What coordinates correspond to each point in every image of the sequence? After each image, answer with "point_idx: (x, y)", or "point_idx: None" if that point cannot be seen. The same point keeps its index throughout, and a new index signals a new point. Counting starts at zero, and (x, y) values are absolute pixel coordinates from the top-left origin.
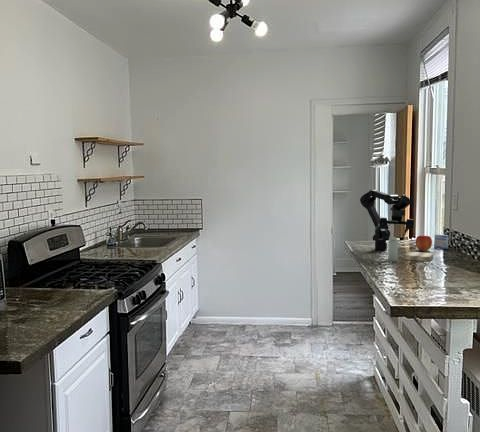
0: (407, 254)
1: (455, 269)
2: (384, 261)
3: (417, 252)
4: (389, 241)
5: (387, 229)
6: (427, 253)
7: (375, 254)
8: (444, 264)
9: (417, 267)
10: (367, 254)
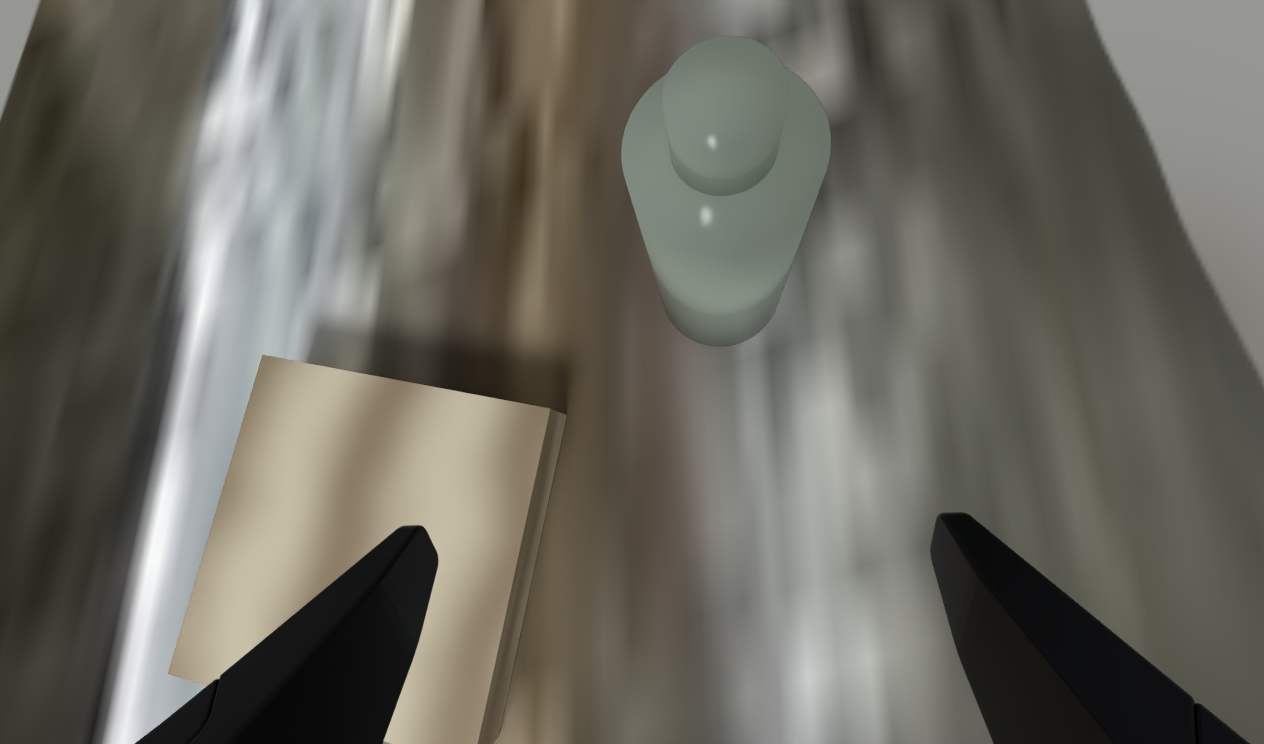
0: (521, 461)
1: (152, 60)
2: None
3: None
4: (805, 88)
5: (1067, 647)
6: (246, 638)
7: None
8: (191, 257)
9: (464, 10)
10: None
